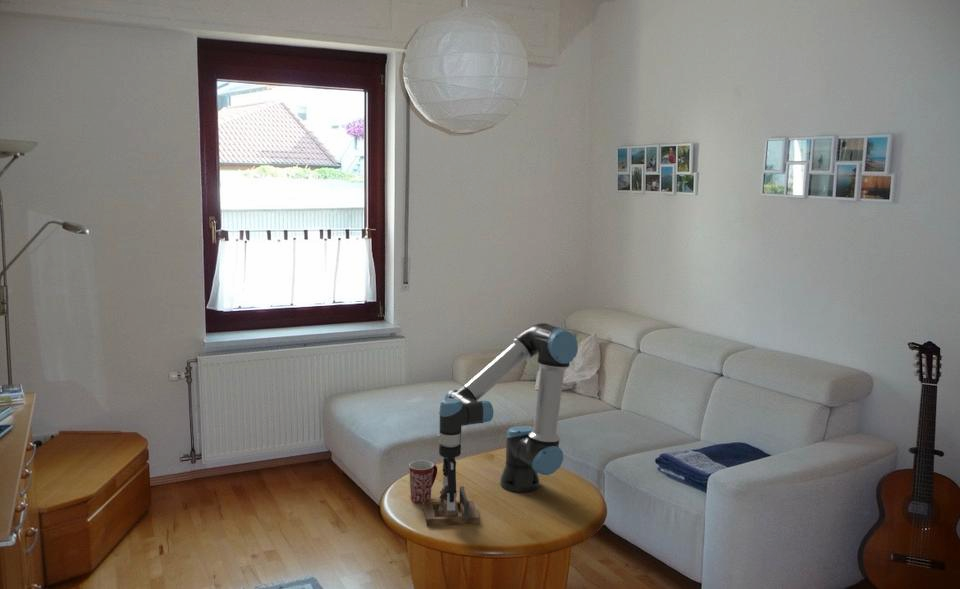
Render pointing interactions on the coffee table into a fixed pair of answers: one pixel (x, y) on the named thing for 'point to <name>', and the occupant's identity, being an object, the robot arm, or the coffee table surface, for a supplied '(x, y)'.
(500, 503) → the coffee table surface
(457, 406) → the robot arm
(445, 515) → the figurine
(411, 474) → the mug
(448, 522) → the wooden stand
